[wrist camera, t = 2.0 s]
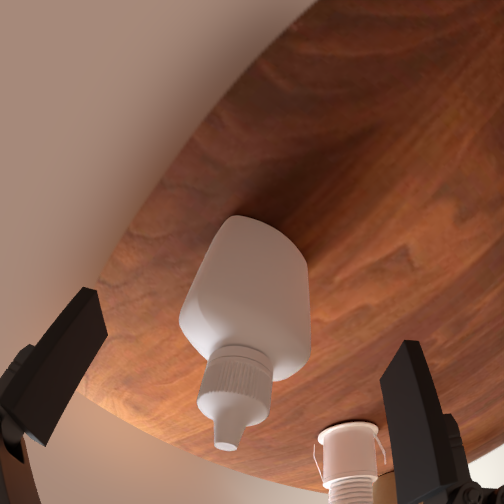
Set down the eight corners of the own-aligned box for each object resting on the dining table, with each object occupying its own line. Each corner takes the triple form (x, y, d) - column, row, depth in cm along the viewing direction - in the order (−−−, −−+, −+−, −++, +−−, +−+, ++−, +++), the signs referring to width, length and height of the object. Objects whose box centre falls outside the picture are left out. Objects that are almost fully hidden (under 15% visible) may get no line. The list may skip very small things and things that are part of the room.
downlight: (385, 414, 26) (395, 497, 18) (378, 439, 30) (384, 509, 21) (312, 423, 28) (309, 508, 19) (315, 447, 31) (312, 517, 23)
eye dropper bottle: (250, 295, 20) (215, 474, 10) (206, 224, 18) (113, 403, 7) (313, 274, 18) (322, 467, 8) (275, 194, 16) (245, 389, 6)
